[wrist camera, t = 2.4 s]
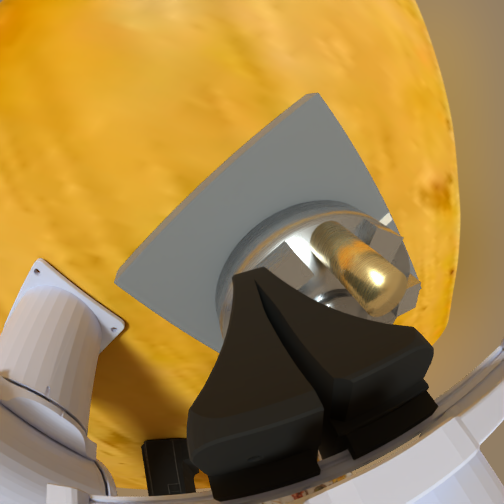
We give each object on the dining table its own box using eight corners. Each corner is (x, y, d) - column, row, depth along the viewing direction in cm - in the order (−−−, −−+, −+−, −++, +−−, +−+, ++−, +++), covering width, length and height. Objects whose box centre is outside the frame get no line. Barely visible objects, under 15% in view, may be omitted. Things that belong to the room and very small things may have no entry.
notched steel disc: (376, 324, 23) (427, 386, 16) (238, 375, 21) (264, 460, 14) (388, 183, 17) (483, 231, 10) (190, 231, 15) (205, 335, 8)
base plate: (290, 382, 26) (295, 393, 25) (117, 270, 17) (113, 283, 15) (412, 280, 24) (421, 288, 23) (306, 93, 15) (319, 92, 13)
